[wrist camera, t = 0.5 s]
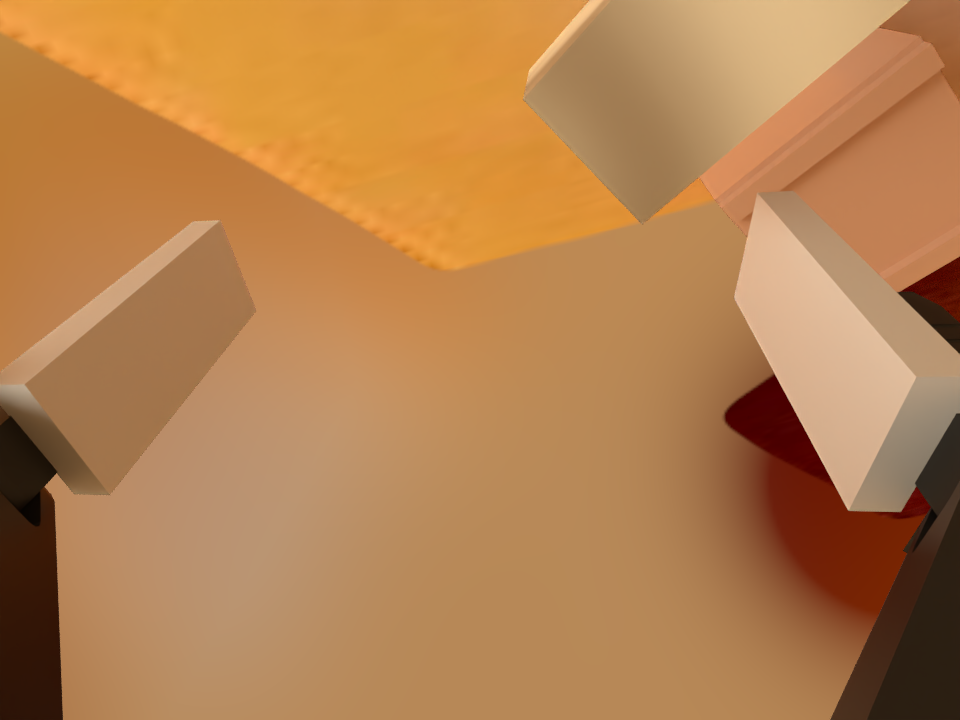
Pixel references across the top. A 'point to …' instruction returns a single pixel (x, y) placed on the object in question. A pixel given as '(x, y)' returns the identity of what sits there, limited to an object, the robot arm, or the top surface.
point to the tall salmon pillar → (863, 157)
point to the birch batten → (684, 81)
